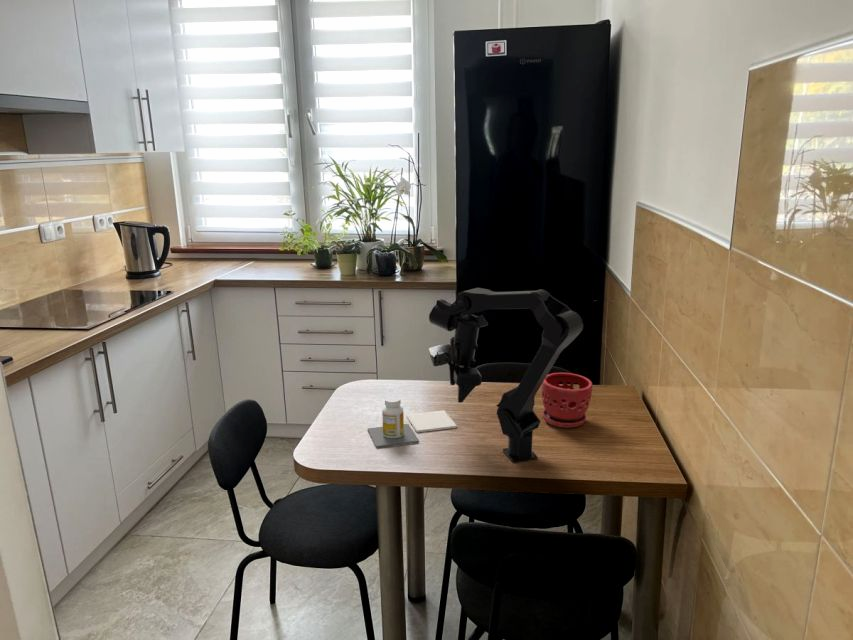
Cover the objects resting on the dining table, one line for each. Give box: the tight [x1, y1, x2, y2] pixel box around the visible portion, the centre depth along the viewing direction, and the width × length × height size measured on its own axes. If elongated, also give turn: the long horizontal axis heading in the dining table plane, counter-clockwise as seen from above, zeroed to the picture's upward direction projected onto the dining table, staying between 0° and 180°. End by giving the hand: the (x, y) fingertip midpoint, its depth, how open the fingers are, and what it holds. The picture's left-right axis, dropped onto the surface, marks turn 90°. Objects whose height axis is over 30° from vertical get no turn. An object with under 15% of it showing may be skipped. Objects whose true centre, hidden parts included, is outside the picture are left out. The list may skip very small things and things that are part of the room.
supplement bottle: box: [381, 396, 405, 438], centre depth 163 cm, size 5×5×10 cm
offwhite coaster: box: [406, 409, 458, 433], centre depth 174 cm, size 11×11×1 cm
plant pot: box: [541, 372, 593, 428], centre depth 172 cm, size 13×13×12 cm
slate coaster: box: [367, 423, 420, 449], centre depth 165 cm, size 11×11×1 cm
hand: (456, 393), depth 164 cm, fingers open, 9 cm apart
